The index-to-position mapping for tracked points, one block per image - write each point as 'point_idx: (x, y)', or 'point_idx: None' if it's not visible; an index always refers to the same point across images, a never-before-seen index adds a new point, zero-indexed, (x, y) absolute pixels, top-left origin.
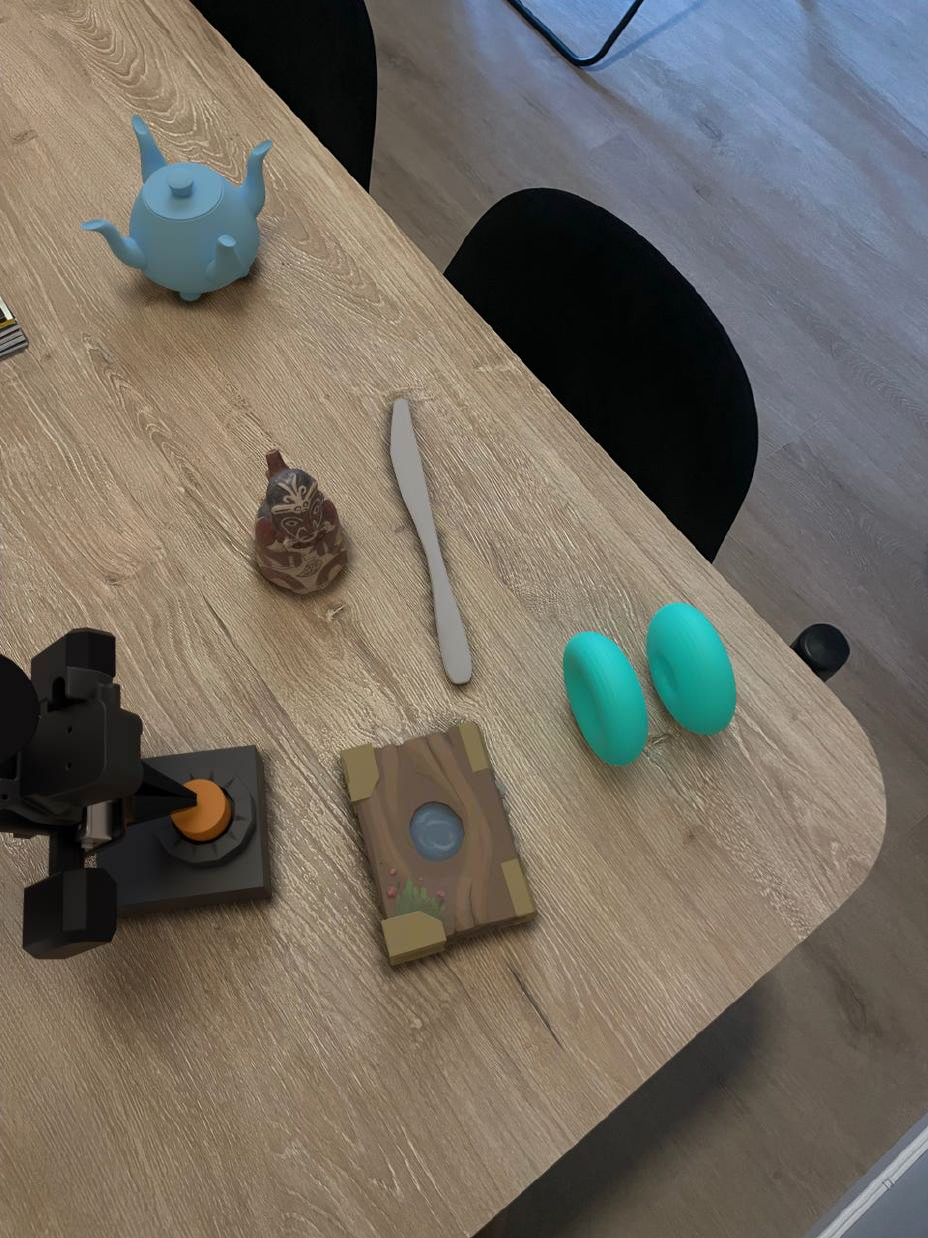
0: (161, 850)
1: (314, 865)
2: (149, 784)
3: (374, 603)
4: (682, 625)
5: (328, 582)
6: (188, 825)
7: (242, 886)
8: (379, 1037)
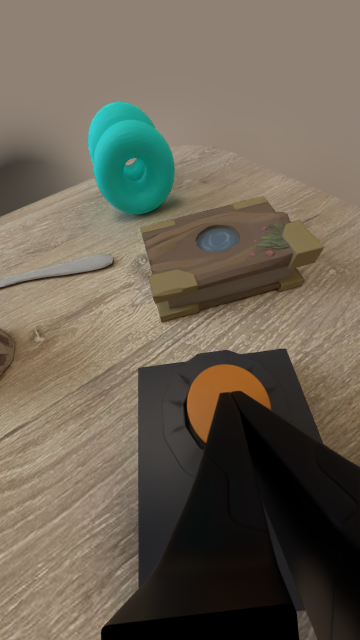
0: None
1: (237, 337)
2: (254, 476)
3: (41, 310)
4: (101, 116)
5: (10, 340)
6: None
7: (290, 369)
8: (351, 290)
